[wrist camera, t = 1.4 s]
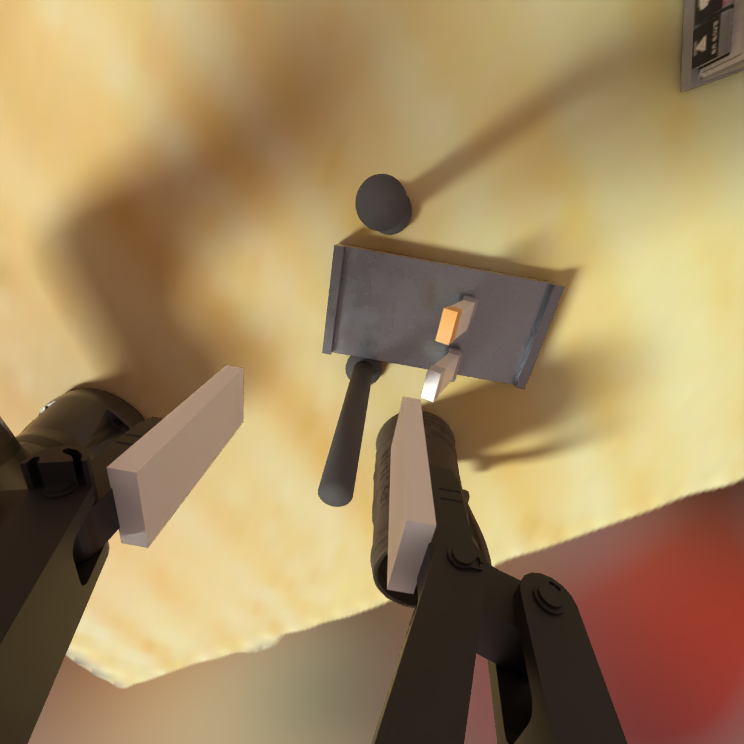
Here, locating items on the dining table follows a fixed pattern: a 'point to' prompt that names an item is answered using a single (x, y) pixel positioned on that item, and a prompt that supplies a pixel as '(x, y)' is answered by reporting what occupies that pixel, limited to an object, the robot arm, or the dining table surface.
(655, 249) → the dining table surface
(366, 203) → the disc
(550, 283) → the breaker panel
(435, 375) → the breaker paddle
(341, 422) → the cable post far
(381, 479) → the beer stein
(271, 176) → the dining table surface
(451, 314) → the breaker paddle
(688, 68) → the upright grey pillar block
